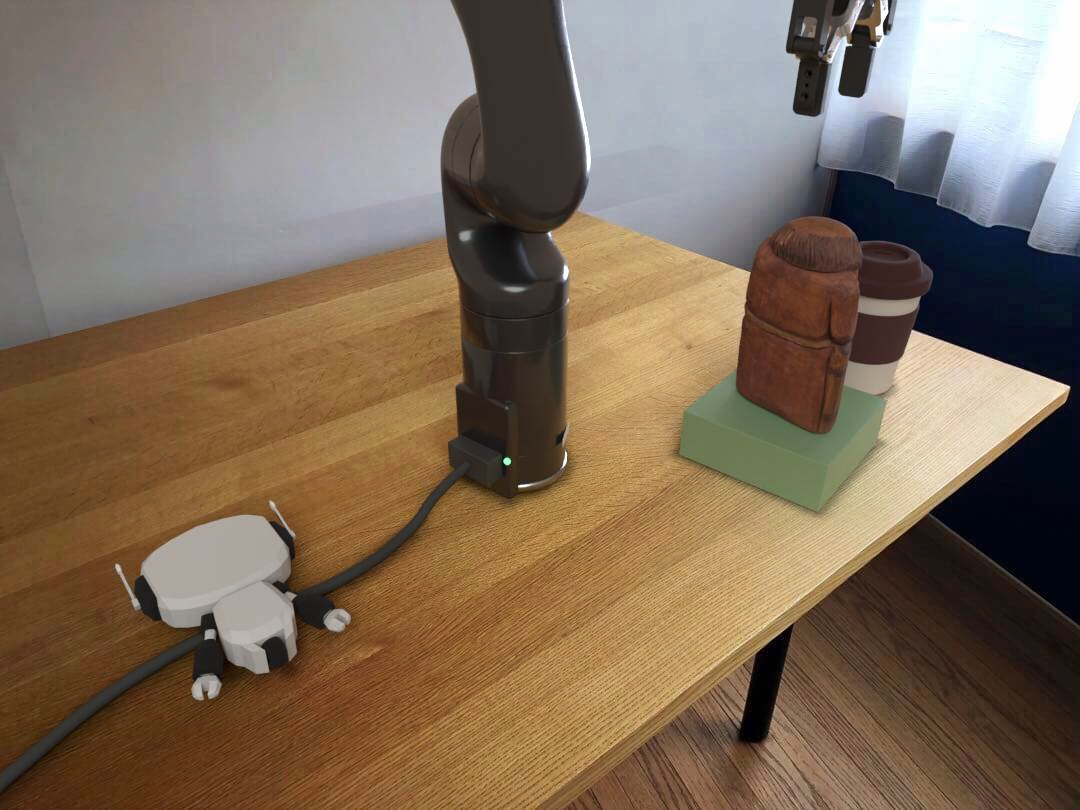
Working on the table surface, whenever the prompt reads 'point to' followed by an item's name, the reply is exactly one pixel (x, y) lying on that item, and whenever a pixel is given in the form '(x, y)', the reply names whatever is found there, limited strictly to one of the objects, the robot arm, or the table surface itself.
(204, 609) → the robot toy
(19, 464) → the table surface
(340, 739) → the table surface
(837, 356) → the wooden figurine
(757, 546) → the table surface
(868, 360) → the coffee cup
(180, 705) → the table surface
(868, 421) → the green block
